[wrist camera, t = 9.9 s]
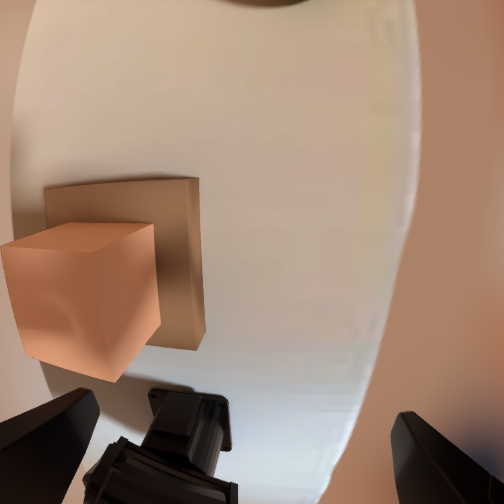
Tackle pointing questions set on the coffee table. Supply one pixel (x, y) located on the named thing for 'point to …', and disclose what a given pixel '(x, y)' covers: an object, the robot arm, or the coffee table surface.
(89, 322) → the terracotta cube
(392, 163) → the coffee table surface
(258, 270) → the coffee table surface
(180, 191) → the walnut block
